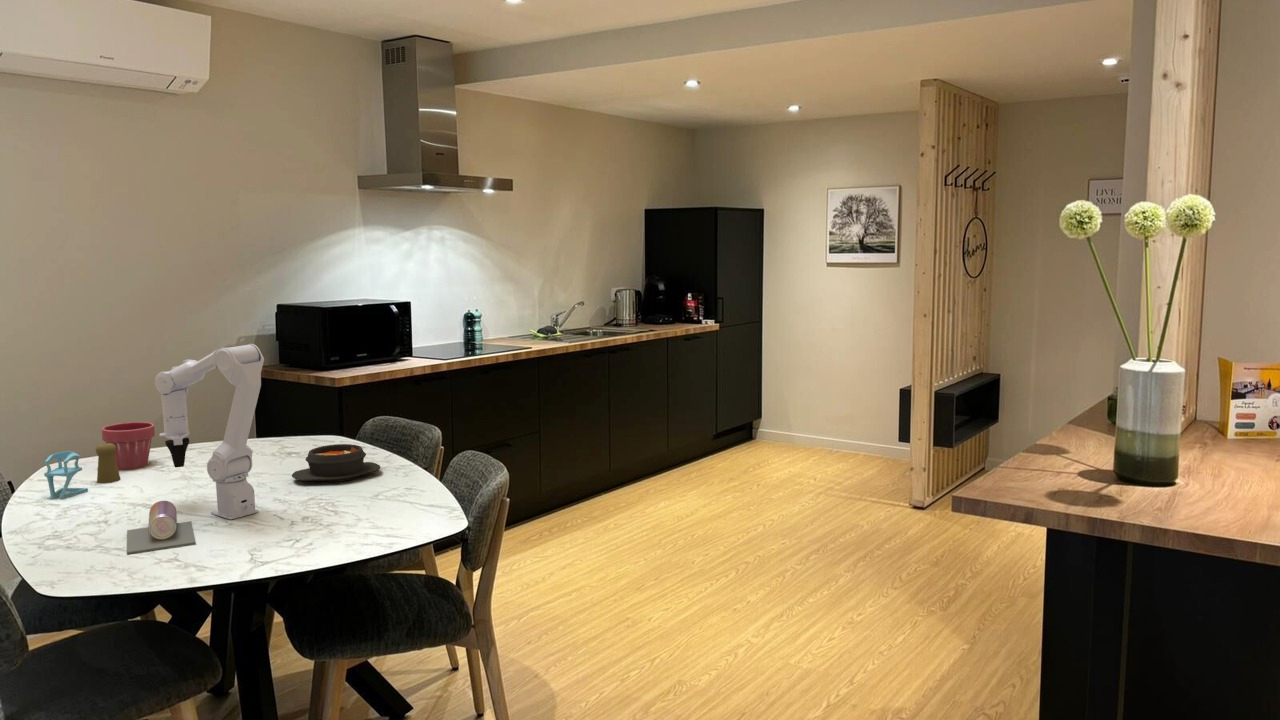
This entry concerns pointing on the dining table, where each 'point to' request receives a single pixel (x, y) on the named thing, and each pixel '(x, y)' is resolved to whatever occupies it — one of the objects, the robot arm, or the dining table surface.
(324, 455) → the casserole
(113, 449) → the cork
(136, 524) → the dining table surface
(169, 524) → the beverage can
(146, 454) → the plant pot
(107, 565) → the dining table surface
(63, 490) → the chair
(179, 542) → the mat
